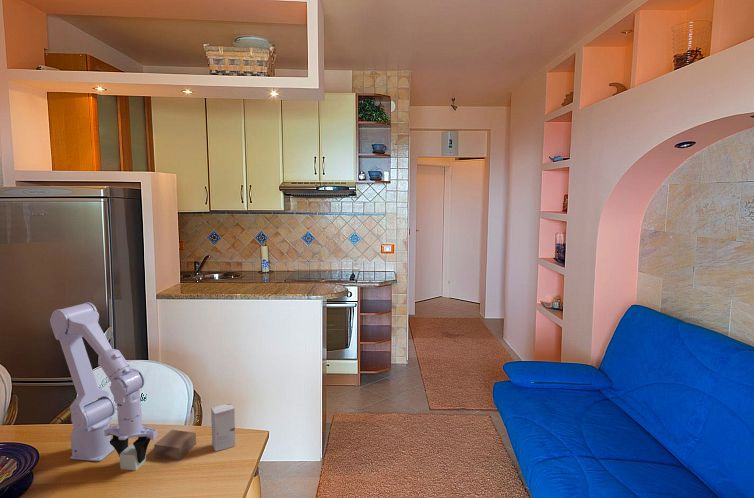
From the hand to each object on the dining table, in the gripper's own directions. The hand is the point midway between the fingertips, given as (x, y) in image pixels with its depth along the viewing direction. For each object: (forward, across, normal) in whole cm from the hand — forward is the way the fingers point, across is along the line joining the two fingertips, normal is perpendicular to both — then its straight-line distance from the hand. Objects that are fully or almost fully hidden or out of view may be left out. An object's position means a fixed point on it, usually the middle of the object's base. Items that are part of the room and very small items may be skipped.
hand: (133, 460), depth 124 cm
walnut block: (+2, +8, +8) cm, 11 cm away
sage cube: (+1, 0, 0) cm, 1 cm away
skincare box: (+2, +21, +12) cm, 24 cm away
